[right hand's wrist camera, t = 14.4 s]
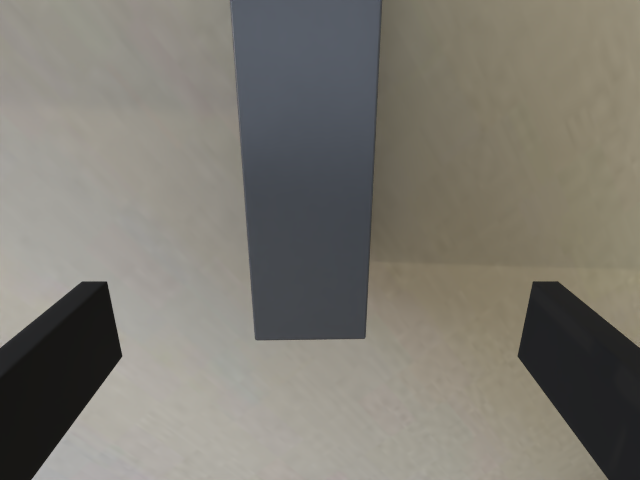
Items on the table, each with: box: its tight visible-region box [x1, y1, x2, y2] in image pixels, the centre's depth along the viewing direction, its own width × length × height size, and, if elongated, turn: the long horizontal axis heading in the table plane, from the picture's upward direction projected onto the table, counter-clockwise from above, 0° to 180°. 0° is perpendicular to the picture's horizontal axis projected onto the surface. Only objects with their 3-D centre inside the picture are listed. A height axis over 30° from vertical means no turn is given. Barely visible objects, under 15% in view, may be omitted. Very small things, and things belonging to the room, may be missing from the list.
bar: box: [230, 0, 382, 340], centre depth 18 cm, size 23×5×9 cm, turn 0°
